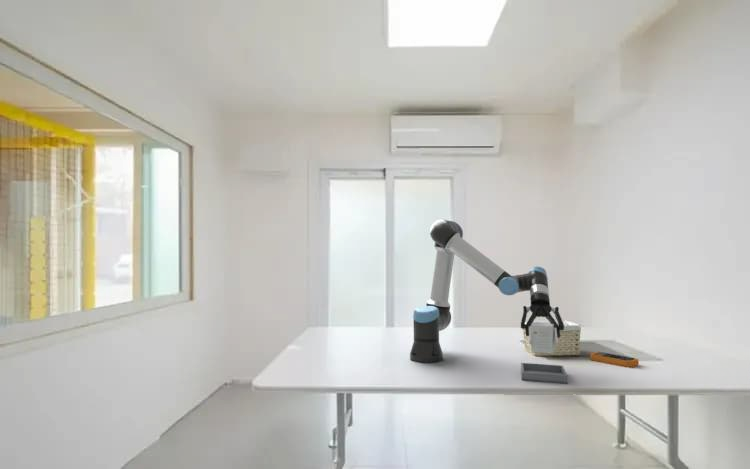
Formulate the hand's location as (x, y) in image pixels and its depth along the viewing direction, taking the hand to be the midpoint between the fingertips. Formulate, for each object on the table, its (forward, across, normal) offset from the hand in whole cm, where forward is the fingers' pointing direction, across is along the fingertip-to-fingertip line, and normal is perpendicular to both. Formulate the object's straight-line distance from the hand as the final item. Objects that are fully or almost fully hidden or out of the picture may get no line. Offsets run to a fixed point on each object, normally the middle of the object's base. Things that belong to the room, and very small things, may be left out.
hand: (543, 343), depth 167 cm
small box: (+1, 0, -5) cm, 5 cm away
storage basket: (-24, -6, -44) cm, 51 cm away
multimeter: (-15, -32, -36) cm, 50 cm away
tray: (+7, 0, -12) cm, 14 cm away
